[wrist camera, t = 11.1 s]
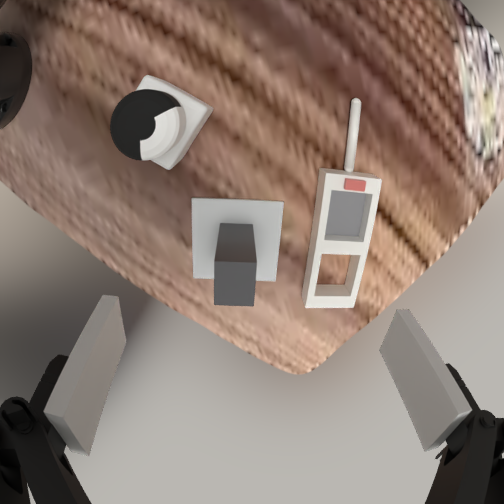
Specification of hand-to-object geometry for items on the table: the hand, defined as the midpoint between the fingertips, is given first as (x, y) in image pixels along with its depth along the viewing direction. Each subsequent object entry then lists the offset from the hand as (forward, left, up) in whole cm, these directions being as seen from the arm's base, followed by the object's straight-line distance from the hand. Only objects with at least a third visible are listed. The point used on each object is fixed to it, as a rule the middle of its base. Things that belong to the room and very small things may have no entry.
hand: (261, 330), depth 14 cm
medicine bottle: (-8, -9, -26) cm, 28 cm away
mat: (+7, -1, -26) cm, 26 cm away
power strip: (+1, +12, -25) cm, 28 cm away
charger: (+7, -1, -25) cm, 26 cm away
